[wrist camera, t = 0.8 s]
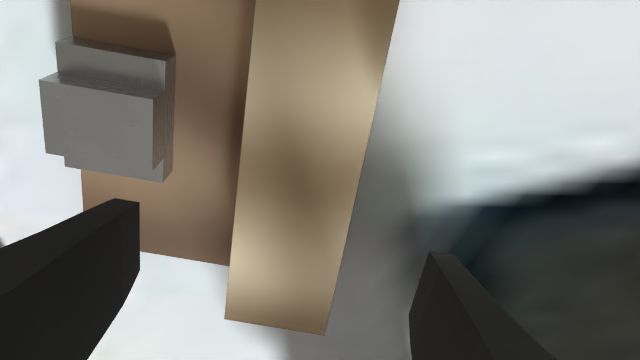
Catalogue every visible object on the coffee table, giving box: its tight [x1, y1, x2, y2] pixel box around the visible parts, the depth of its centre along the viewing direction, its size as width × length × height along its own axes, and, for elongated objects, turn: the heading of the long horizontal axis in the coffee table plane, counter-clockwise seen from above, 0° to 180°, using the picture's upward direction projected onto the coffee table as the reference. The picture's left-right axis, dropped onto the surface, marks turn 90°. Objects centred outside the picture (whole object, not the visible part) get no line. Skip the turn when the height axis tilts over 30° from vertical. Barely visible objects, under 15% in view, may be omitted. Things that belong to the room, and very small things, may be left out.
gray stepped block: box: [39, 37, 176, 183], centre depth 18 cm, size 5×4×2 cm
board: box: [70, 0, 256, 266], centre depth 20 cm, size 14×11×1 cm
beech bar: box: [224, 0, 399, 336], centre depth 18 cm, size 13×4×4 cm, turn 171°
